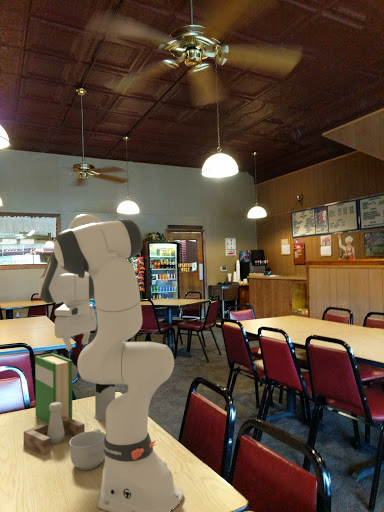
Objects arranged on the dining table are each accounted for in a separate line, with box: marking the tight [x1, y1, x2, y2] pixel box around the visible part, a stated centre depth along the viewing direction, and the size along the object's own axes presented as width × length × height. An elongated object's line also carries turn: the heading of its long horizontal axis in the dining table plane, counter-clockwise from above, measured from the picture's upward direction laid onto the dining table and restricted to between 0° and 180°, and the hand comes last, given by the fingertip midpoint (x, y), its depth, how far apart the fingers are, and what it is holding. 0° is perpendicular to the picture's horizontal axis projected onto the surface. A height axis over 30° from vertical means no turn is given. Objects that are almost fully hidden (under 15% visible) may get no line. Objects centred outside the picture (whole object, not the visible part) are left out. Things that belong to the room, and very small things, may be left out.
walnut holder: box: [23, 416, 86, 456], centre depth 129 cm, size 12×16×4 cm
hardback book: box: [34, 353, 73, 424], centre depth 148 cm, size 18×7×24 cm, turn 43°
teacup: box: [68, 428, 106, 471], centre depth 114 cm, size 14×11×8 cm
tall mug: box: [92, 383, 116, 422], centre depth 152 cm, size 9×14×15 cm, turn 42°
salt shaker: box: [47, 402, 66, 445], centre depth 128 cm, size 6×6×13 cm
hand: (77, 346), depth 135 cm, fingers open, 8 cm apart
